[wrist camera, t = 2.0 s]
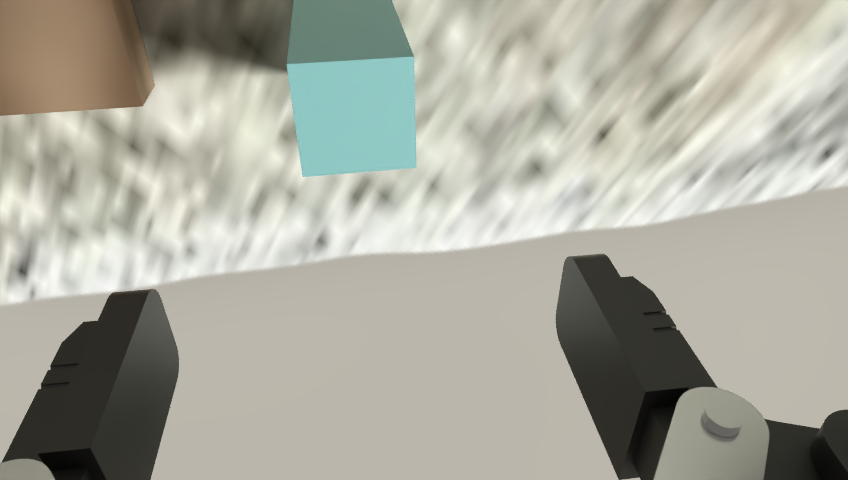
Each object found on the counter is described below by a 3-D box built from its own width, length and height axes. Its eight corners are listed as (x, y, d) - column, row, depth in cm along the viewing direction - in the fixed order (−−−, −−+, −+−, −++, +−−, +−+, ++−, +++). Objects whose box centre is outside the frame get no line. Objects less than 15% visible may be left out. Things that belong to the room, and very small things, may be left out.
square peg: (384, -17, 28) (413, 56, 19) (388, 70, 30) (416, 167, 22) (294, -12, 27) (286, 64, 19) (305, 75, 29) (302, 176, 21)
